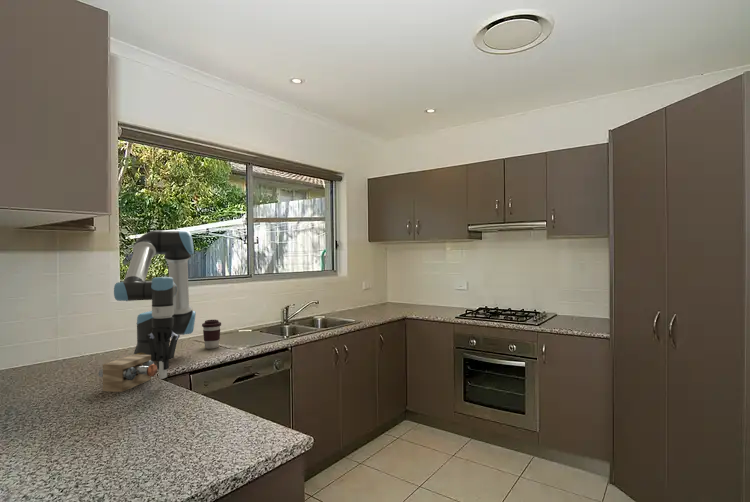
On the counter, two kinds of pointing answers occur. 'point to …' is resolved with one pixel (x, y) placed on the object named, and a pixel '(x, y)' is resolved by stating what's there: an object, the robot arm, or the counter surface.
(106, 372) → the block
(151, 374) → the plug rust
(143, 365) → the plug
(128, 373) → the plug
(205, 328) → the coffee cup
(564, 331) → the counter surface
